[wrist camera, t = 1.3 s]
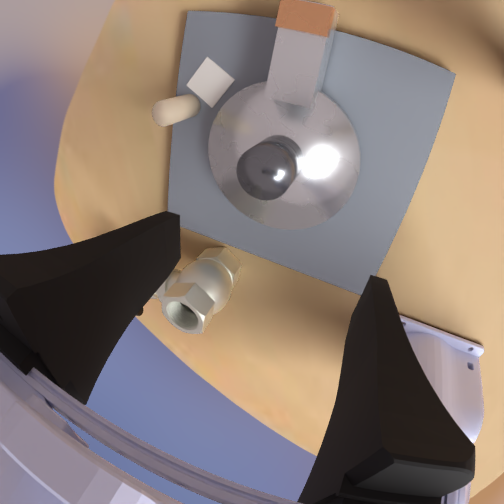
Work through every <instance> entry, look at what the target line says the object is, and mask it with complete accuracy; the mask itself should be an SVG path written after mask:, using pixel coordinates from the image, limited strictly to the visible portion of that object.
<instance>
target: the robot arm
mask: <svg viewBox="0 0 504 504" xmlns="http://www.w3.org/2000/svg"><path fill="white" fill-rule="evenodd" d="M180 258H181V254H180V215H178V214H175V213H172V212H168V211H165V212H161V213H158V214H155V215H153V216H150V217H147V218H145V219H142V220H139V221H137V222H134V223H132V224H129V225H127V226H124V227H122V228H119V229H116V230H113V231H111V232H108V233H105V234H102V235H100V236H97V237H94V238H91V239H88V240H85V241H81V242H78V243H74V244H71V245H67V246H62V247H57V248H53V249H48V250H43V251H37V252H29V253H22V254H6V255H0V504H183V503H181V502H179V501H177V500H175V499H173V498H170V497H169V496H167V495H165V494H163V493H161V492H159V491H157V490H155V489H154V488H152V487H150V486H148V485H146V484H145V483H143V482H141V481H139V480H138V479H136V478H134V477H132V476H131V475H129V474H127V473H125V472H124V471H122V470H120V469H119V468H117V467H116V466H114V465H113V464H111V463H109V462H108V461H106V460H104V459H103V458H102V457H100V456H98V455H97V454H95V453H94V452H92V451H91V450H89V449H88V448H89V446H88V444H87V443H86V442H85V441H84V440H83V439H82V438H80V437H79V436H78V435H77V434H76V433H75V432H74V431H73V430H72V429H71V427H70V426H69V425H68V423H67V422H66V421H65V420H64V419H62V418H61V417H60V416H59V415H58V414H57V413H56V412H54V411H53V409H52V408H54V409H55V410H56V411H57V412H59V413H60V414H61V415H63V416H64V417H65V418H67V419H68V420H69V421H71V422H72V423H73V424H75V425H76V426H78V427H79V428H81V429H82V430H83V431H85V432H86V433H88V434H89V435H91V436H92V437H94V438H95V439H97V440H98V441H100V442H101V443H103V444H104V445H106V446H108V447H109V448H111V449H112V450H114V451H115V452H117V453H119V454H120V455H122V456H124V457H126V458H127V459H129V460H131V461H133V462H134V463H136V464H138V465H140V466H141V467H143V468H145V469H147V470H149V471H151V472H153V473H155V474H156V475H159V476H160V477H162V478H165V479H166V480H169V481H171V482H173V483H175V484H177V485H179V486H181V487H184V488H185V489H188V490H190V491H192V492H195V493H197V494H199V495H202V496H204V497H207V498H209V499H211V500H214V501H217V502H219V503H222V504H469V497H470V487H471V481H472V479H473V478H474V474H475V446H474V444H473V443H474V442H475V440H476V439H477V437H478V435H479V432H480V429H481V426H482V423H483V417H484V402H483V390H482V380H481V371H480V363H479V357H480V356H481V355H482V354H483V352H484V347H483V346H482V345H479V344H476V343H474V342H471V341H468V340H466V339H463V338H460V337H457V336H455V335H452V334H449V333H447V332H444V331H441V330H439V329H436V328H433V327H431V326H428V325H425V324H423V323H420V322H417V321H415V320H412V319H409V318H407V317H404V316H402V315H399V313H398V310H397V307H396V305H395V302H394V299H393V296H392V293H391V290H390V287H389V284H388V282H387V280H385V279H382V278H379V277H376V276H373V275H370V277H369V280H368V282H367V284H366V286H365V288H364V291H363V293H362V295H361V297H360V299H359V301H358V304H357V306H356V308H355V310H354V312H353V314H352V317H351V321H350V325H349V329H348V333H347V337H346V341H345V348H344V354H343V361H342V368H341V374H340V380H339V386H338V392H337V397H336V401H335V405H334V408H333V412H332V415H331V418H330V421H329V424H328V427H327V430H326V433H325V436H324V439H323V442H322V445H321V447H320V450H319V453H318V455H317V458H316V460H315V463H314V466H313V468H312V470H311V473H310V476H309V478H308V480H307V482H306V484H305V487H304V489H303V491H302V493H301V495H300V497H299V499H298V501H297V502H295V501H291V500H287V499H284V498H280V497H277V496H273V495H270V494H267V493H264V492H260V491H258V490H255V489H252V488H249V487H245V486H243V485H240V484H237V483H235V482H232V481H229V480H226V479H224V478H221V477H219V476H216V475H213V474H212V473H209V472H207V471H204V470H202V469H200V468H197V467H195V466H193V465H190V464H188V463H186V462H184V461H182V460H180V459H178V458H175V457H173V456H171V455H169V454H167V453H165V452H163V451H161V450H159V449H157V448H155V447H153V446H151V445H149V444H148V443H146V442H144V441H142V440H140V439H139V438H137V437H135V436H133V435H131V434H130V433H128V432H126V431H124V430H123V429H121V428H119V427H118V426H116V425H114V424H113V423H111V422H110V421H108V420H106V419H105V418H103V417H101V416H100V415H98V414H97V413H95V412H94V411H92V410H91V409H89V408H88V407H86V406H85V405H86V404H87V401H88V399H89V396H90V394H91V391H92V389H93V387H94V385H95V383H96V381H97V378H98V376H99V374H100V373H101V371H102V368H103V367H104V365H105V363H106V361H107V359H108V357H109V356H110V354H111V352H112V351H113V349H114V347H115V345H116V344H117V342H118V340H119V339H120V337H121V336H122V334H123V333H124V331H125V329H126V328H127V327H128V325H129V324H130V322H131V321H132V320H133V318H134V317H135V316H136V314H137V313H138V312H139V311H140V310H141V309H142V307H143V306H144V305H145V304H146V303H147V302H148V300H149V299H150V298H151V297H152V296H153V295H154V293H155V292H156V291H157V290H158V289H159V288H160V286H161V285H162V284H163V283H164V282H165V280H166V279H167V278H168V277H169V275H170V274H171V272H172V271H173V269H174V268H175V266H176V264H177V263H178V261H179V260H180ZM402 322H405V323H402ZM470 347H471V348H470Z"/></svg>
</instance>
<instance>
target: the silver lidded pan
mask: <svg viewBox="0 0 504 504" xmlns="http://www.w3.org/2000/svg"><path fill="white" fill-rule="evenodd" d="M338 18H339V13H338V11H337V10H336V9H335V7H334V6H330V5H325V4H321V3H316V2H310V1H305V0H280V5H279V10H278V15H277V19H276V24H275V26H276V27H278V31H277V35H276V40H275V45H274V50H273V55H272V60H271V64H270V69H269V74H268V79H267V81H265V82H261V83H257V84H253V85H251V86H248V87H246V88H244V89H242V90H241V91H239V92H237V93H236V94H235V95H233V96H232V97H231V98H230V99H229V100H228V101H227V102H226V103H225V104H224V105H223V106H222V108H221V109H220V111H219V112H218V114H217V116H216V118H215V120H214V122H213V124H212V127H211V131H210V136H209V144H208V153H209V161H210V166H211V170H212V173H213V176H214V178H215V180H216V182H217V184H218V186H219V188H220V190H221V191H222V193H223V194H224V195H225V197H226V198H227V199H228V200H229V201H230V203H231V204H232V205H233V206H234V207H236V208H237V209H238V210H239V211H240V212H241V213H243V214H244V215H246V216H247V217H249V218H251V219H252V220H254V221H256V222H258V223H261V224H263V225H266V226H269V227H273V228H278V229H287V230H296V229H304V228H309V227H313V226H316V225H318V224H321V223H323V222H325V221H327V220H328V219H330V218H331V217H333V216H334V215H335V214H336V213H337V212H339V211H340V210H341V209H342V208H343V206H344V205H345V204H346V203H347V201H348V200H349V198H350V196H351V195H352V193H353V191H354V188H355V186H356V183H357V179H358V175H359V171H360V162H361V153H360V145H359V140H358V136H357V133H356V130H355V128H354V126H353V124H352V122H351V120H350V118H349V117H348V115H347V114H346V112H345V111H344V110H343V109H342V108H341V106H340V105H339V104H338V103H337V102H336V101H335V100H333V99H332V98H331V97H330V96H329V95H327V94H326V93H324V92H323V91H321V90H322V86H323V82H324V77H325V73H326V69H327V65H328V61H329V57H330V52H331V48H332V44H333V40H334V35H335V31H336V27H337V22H338Z"/></svg>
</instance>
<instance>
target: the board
mask: <svg viewBox="0 0 504 504" xmlns="http://www.w3.org/2000/svg"><path fill="white" fill-rule="evenodd" d="M275 24H276V18H270V17H262V16H255V15H246V14H236V13H224V12H208V11H188V14H187V20H186V26H185V32H184V39H183V45H182V52H181V59H180V67H179V75H178V83H177V91H176V97H173V98H169V99H165V100H161V101H158V102H156V103H155V104H154V106H153V109H152V117H153V119H154V121H155V122H156V124H158V125H159V126H163V127H165V126H168V125H171V124H173V131H172V143H171V157H170V172H169V190H168V212H172V213H175V214H178V215H180V226H181V227H183V228H186V229H188V230H191V231H194V232H196V233H199V234H201V235H204V236H207V237H209V238H212V239H214V240H217V241H220V242H222V243H225V244H227V245H230V246H233V247H235V248H238V249H241V250H243V251H246V252H248V253H251V254H254V255H256V256H259V257H261V258H264V259H267V260H269V261H272V262H275V263H277V264H280V265H282V266H285V267H288V268H290V269H293V270H296V271H298V272H301V273H303V274H306V275H309V276H311V277H314V278H316V279H319V280H322V281H324V282H327V283H330V284H332V285H335V286H337V287H340V288H343V289H345V290H348V291H351V292H353V293H356V294H358V295H362V293H363V291H364V288H365V286H366V284H367V282H368V280H369V277H370V275H373V276H376V274H377V272H378V270H379V268H380V266H381V264H382V262H383V260H384V258H385V256H386V254H387V252H388V250H389V248H390V245H391V243H392V241H393V239H394V237H395V235H396V233H397V231H398V228H399V226H400V224H401V222H402V220H403V218H404V215H405V213H406V211H407V208H408V206H409V204H410V202H411V199H412V197H413V195H414V192H415V190H416V187H417V185H418V183H419V180H420V178H421V175H422V173H423V170H424V167H425V165H426V162H427V160H428V157H429V154H430V152H431V149H432V146H433V144H434V141H435V138H436V135H437V132H438V130H439V127H440V124H441V121H442V118H443V115H444V112H445V108H446V105H447V102H448V99H449V96H450V92H451V89H452V86H453V82H454V79H455V75H456V74H455V73H453V72H451V71H448V70H446V69H444V68H442V67H440V66H437V65H435V64H433V63H431V62H428V61H426V60H423V59H421V58H418V57H416V56H413V55H411V54H408V53H406V52H403V51H400V50H397V49H395V48H392V47H389V46H386V45H383V44H380V43H377V42H374V41H371V40H368V39H364V38H361V37H357V36H354V35H350V34H347V33H343V32H339V31H335V35H334V40H333V44H332V48H331V52H330V57H329V61H328V65H327V69H326V73H325V77H324V82H323V86H322V90H321V91H323V92H324V93H326V94H327V95H329V96H330V97H331V98H332V99H333V100H335V101H336V102H337V103H338V104H339V105H340V106H341V108H342V109H343V110H344V111H345V112H346V114H347V115H348V117H349V118H350V120H351V122H352V124H353V126H354V128H355V130H356V133H357V136H358V140H359V145H360V153H361V162H360V171H359V175H358V179H357V183H356V186H355V188H354V191H353V193H352V195H351V196H350V198H349V200H348V201H347V203H346V204H345V205H344V206H343V208H342V209H341V210H340V211H339V212H337V213H336V214H335V215H334V216H333V217H331V218H330V219H328V220H327V221H325V222H323V223H321V224H318V225H316V226H313V227H309V228H304V229H296V230H287V229H278V228H273V227H269V226H266V225H263V224H261V223H258V222H256V221H254V220H252V219H251V218H249V217H247V216H246V215H244V214H243V213H241V212H240V211H239V210H238V209H237V208H236V207H234V206H233V205H232V204H231V203H230V201H229V200H228V199H227V198H226V197H225V195H224V194H223V193H222V191H221V190H220V188H219V186H218V184H217V182H216V180H215V178H214V176H213V173H212V170H211V166H210V161H209V153H208V144H209V136H210V131H211V127H212V124H213V122H214V120H215V118H216V116H217V114H218V112H219V111H220V109H221V108H222V106H223V105H224V104H225V103H226V102H227V101H228V100H229V99H230V98H231V97H232V96H233V95H235V94H236V93H237V92H239V91H241V90H242V89H244V88H246V87H248V86H251V85H253V84H257V83H261V82H265V81H267V79H268V74H269V69H270V64H271V60H272V55H273V50H274V45H275V40H276V35H277V31H278V27H276V26H275Z"/></svg>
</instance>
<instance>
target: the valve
mask: <svg viewBox="0 0 504 504" xmlns="http://www.w3.org/2000/svg"><path fill="white" fill-rule="evenodd" d="M241 267H242V263H241V262H240V261H239V260H238V259H237V258H236V257H235V256H234V255H233V254H232V253H231V252H230V251H229V250H228V249H227V248H226V247H216V248H206V249H205V250H204V251H203V252H202V253H201V254H200V255H199V256H198V257H197V259H196V261H194V262H192V263H190V264H189V265H187V266H186V267H185V268H184V269H183V270H182V271H180V270H178V269H173V271H172V272H171V274H170V275H169V277H168V278H167V279H166V280H165V282H164V283H163V284H162V285H161V286H160V288H159V289H158V290H157V291H156V292H155V293H154V295H153V296H152V297H151V298H154V299H158V298H159V300H160V301H161V303H162V312H163V314H164V316H165V317H166V318H167V320H168V321H169V322H170V323H171V324H172V325H173V326H175V327H176V328H177V329H179V330H181V331H183V332H185V333H190V334H200V333H203V332H204V330H205V329H206V327H207V326H208V324H209V323H210V322H211V320H212V316H213V315H214V314H216V313H218V312H219V311H220V310H222V309H223V308H224V307H225V305H226V304H227V303H228V301H229V299H230V296H231V292H232V289H233V288H234V286H235V285H236V283H237V282H238V279H239V275H240V271H241ZM142 313H143V307H142V309H141V310H140V311H139V312H138V313H137V314H136V316H140V315H142Z"/></svg>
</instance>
